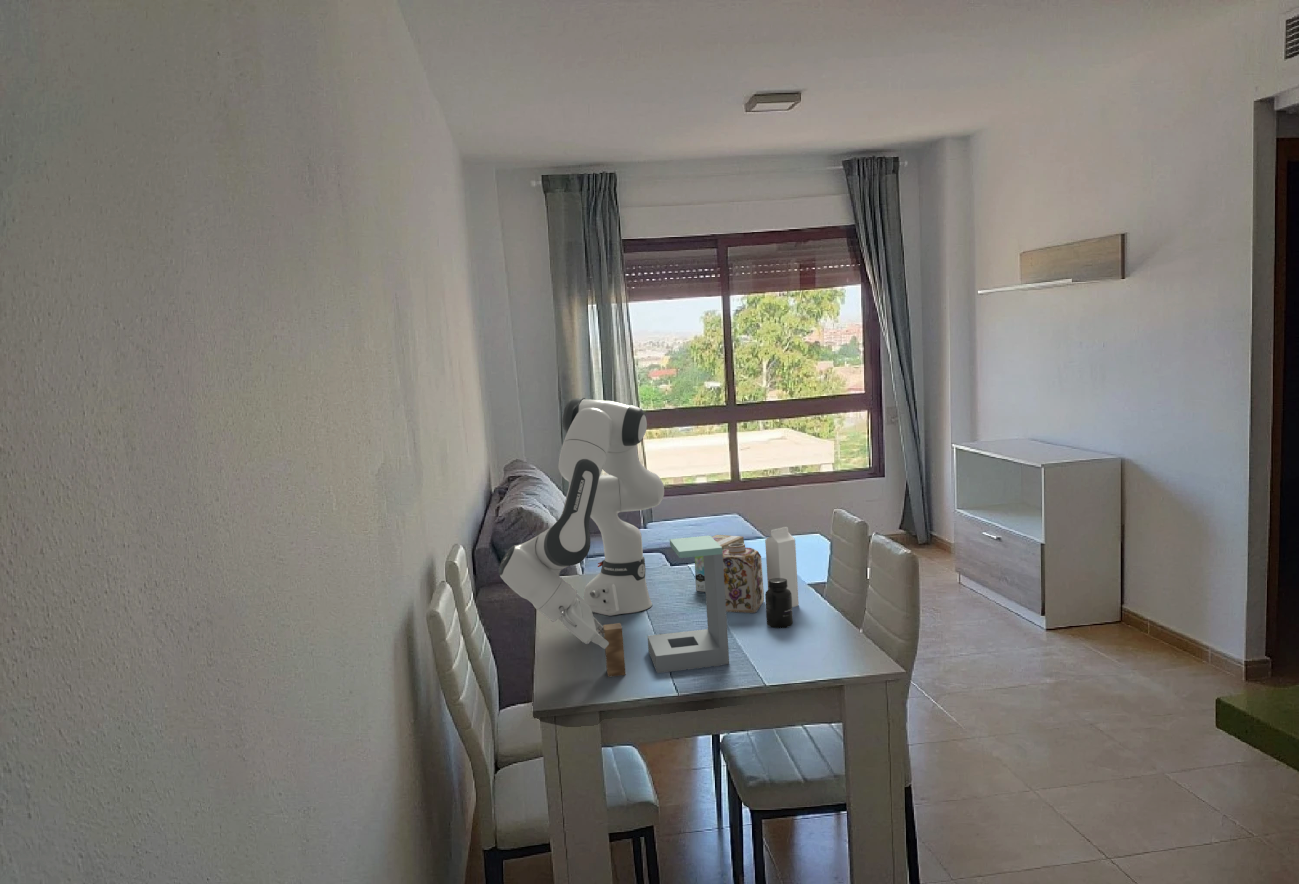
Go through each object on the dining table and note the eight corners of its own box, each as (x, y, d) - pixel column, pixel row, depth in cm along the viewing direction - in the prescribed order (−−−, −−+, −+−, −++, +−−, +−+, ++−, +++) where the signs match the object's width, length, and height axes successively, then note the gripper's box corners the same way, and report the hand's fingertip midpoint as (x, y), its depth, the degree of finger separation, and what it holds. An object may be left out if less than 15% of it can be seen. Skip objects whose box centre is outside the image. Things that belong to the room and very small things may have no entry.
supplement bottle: (792, 629, 225) (790, 583, 224) (765, 629, 227) (763, 583, 225) (793, 620, 232) (791, 576, 231) (767, 620, 233) (765, 576, 232)
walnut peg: (608, 676, 201) (604, 630, 200) (606, 670, 205) (603, 624, 204) (625, 674, 201) (622, 628, 200) (623, 668, 205) (620, 623, 204)
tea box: (724, 594, 261) (721, 545, 259) (695, 591, 266) (692, 543, 265) (746, 581, 274) (744, 535, 272) (718, 579, 279) (715, 533, 277)
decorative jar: (756, 613, 240) (752, 549, 238) (715, 612, 244) (711, 549, 242) (765, 601, 251) (761, 539, 250) (725, 600, 255) (721, 539, 253)
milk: (798, 605, 245) (795, 528, 242) (781, 610, 242) (777, 531, 240) (785, 601, 250) (781, 525, 248) (768, 605, 247) (764, 528, 245)
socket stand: (657, 672, 201) (648, 555, 198) (648, 651, 216) (640, 541, 213) (729, 664, 203) (722, 547, 200) (716, 643, 218) (709, 535, 215)
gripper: (570, 603, 190) (618, 642, 192) (566, 580, 210) (610, 615, 212) (550, 625, 189) (599, 664, 192) (549, 600, 210) (593, 635, 212)
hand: (605, 638), depth 202 cm, fingers open, 8 cm apart
